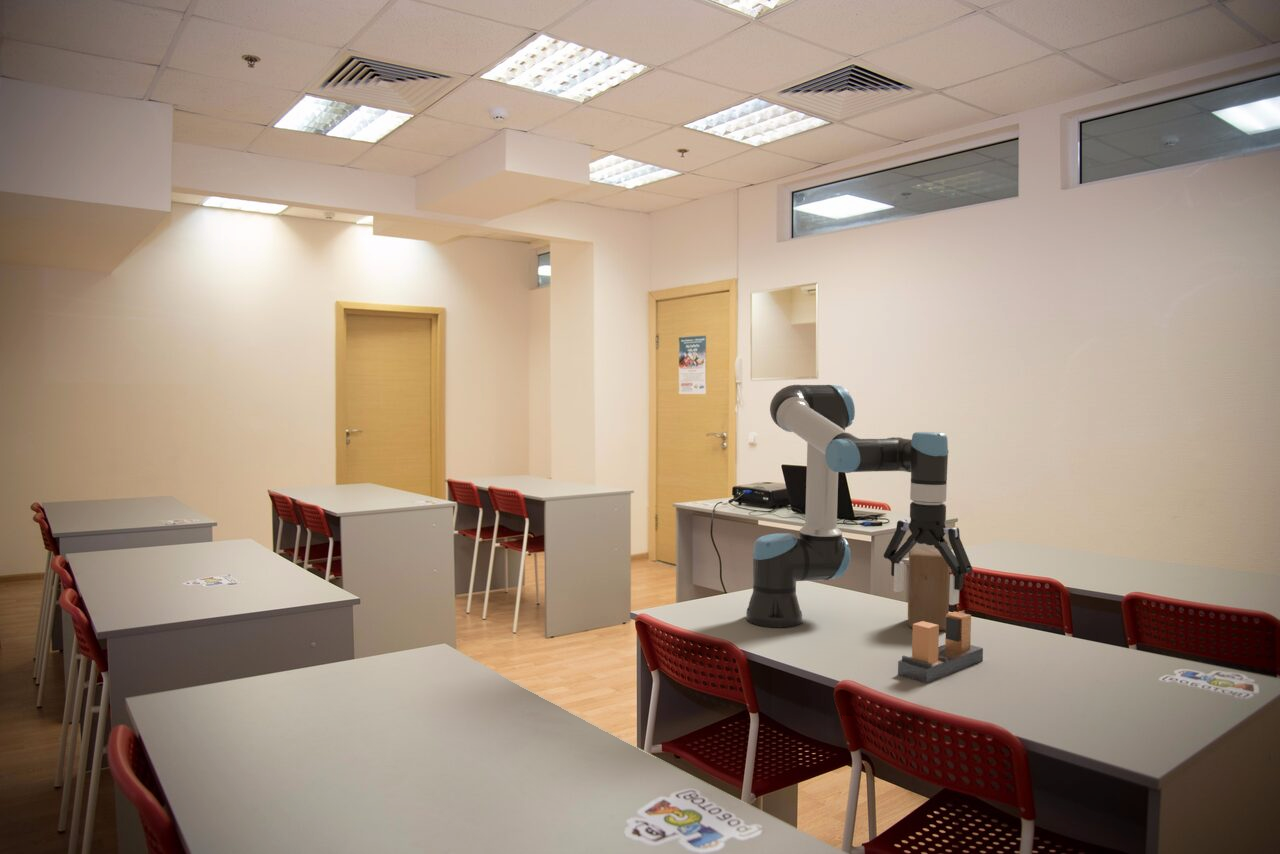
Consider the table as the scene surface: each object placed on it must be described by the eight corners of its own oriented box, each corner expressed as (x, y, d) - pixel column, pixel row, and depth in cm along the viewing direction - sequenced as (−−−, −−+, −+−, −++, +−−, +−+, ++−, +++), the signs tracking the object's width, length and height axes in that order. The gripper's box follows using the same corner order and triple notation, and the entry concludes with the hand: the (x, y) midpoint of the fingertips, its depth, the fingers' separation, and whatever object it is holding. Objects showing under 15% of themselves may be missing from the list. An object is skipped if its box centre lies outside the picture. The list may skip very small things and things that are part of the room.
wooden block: (908, 628, 218) (909, 554, 217) (907, 618, 228) (908, 547, 227) (948, 632, 215) (950, 556, 214) (945, 622, 225) (947, 549, 224)
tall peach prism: (912, 659, 183) (912, 624, 182) (923, 655, 186) (924, 620, 185) (928, 664, 179) (929, 628, 179) (940, 659, 183) (940, 624, 182)
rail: (897, 674, 182) (898, 625, 181) (954, 653, 197) (955, 608, 197) (926, 683, 177) (927, 632, 176) (982, 660, 192) (983, 614, 191)
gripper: (991, 507, 174) (988, 606, 175) (888, 494, 193) (886, 583, 194) (973, 510, 169) (969, 612, 170) (869, 497, 188) (867, 588, 189)
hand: (925, 597), depth 182 cm, fingers open, 13 cm apart
